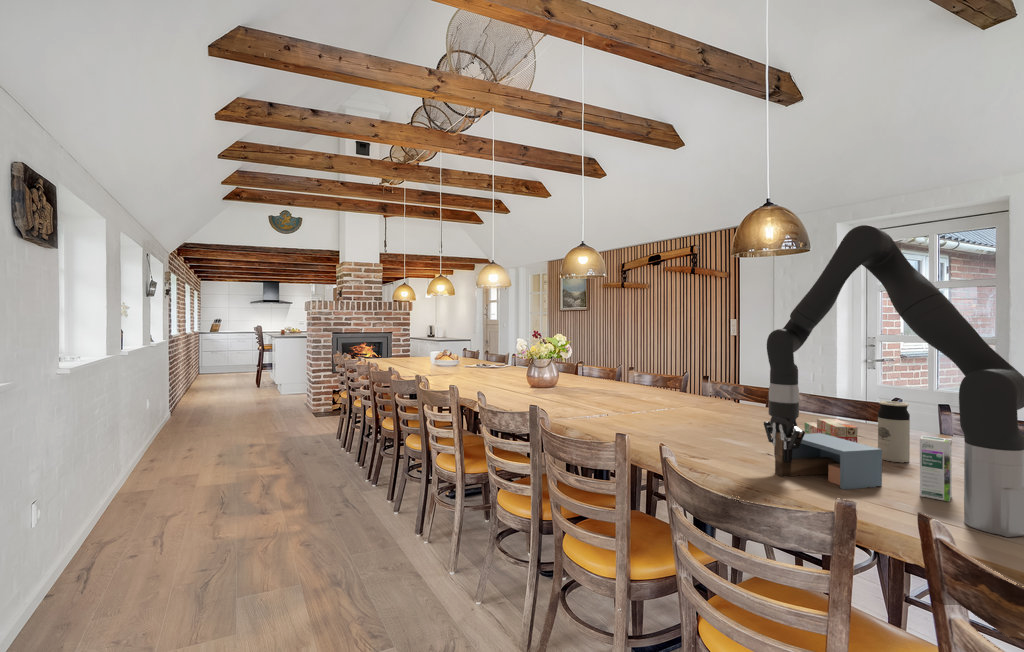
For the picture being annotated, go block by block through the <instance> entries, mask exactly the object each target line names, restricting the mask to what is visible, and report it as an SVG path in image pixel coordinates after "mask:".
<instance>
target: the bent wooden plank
mask: <svg viewBox="0 0 1024 652" xmlns="http://www.w3.org/2000/svg"><path fill="white" fill-rule="evenodd" d="M786 438H790V437H786ZM787 443H788V445H789V441H787ZM783 449H784V448H783V441H782V440H781V433H779V432H776V438H775V455H774V475H776V474H777V475H776V476H779V477H781V476H782V477H784V476H786V477H797V476H798V475H800V476H810V475H811V476H812V474H813V475H823V474H824V475H825V474H828V465H832V464H840V463H838V462H835V461H833V459H832V458H829V457H813V458H798V459H792V461H791V463H785V462H783ZM784 478H785V477H784Z"/></svg>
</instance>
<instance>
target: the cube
mask: <svg viewBox="0 0 1024 652" xmlns="http://www.w3.org/2000/svg"><path fill="white" fill-rule="evenodd" d="M827 474H828V476H827V478H828V479H827V480H828V482H830V483H833V484H835V483H836V485H838V486H840V464H832V465H828V473H827Z"/></svg>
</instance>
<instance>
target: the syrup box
mask: <svg viewBox="0 0 1024 652" xmlns="http://www.w3.org/2000/svg"><path fill="white" fill-rule="evenodd" d="M952 443H953V442H952V438H943V437H935V436H928V435H922V436H921V437H920V438H919V496H920V497H922V498H928V499H933V500H939V501H943V502H948V503H949V502H950V500H951V498H952V495H953V494H952V493H953V492H952V488H953V487H952V485H953V484H952V481H953V480H952V478H953V477H952V476H953V475H952V472H953V471H952V469H953V468H952V466H953V463H952V461H953V459H952V455H953V454H952V452H953V451H952V450H953V449H952Z"/></svg>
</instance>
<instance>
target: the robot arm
mask: <svg viewBox="0 0 1024 652" xmlns="http://www.w3.org/2000/svg"><path fill="white" fill-rule="evenodd" d="M860 266H862V267H864V268H865V269H867V270H868V272H870V274H872V275H873V276H874V277H875V278H876V279H877V280H878V282H879V283H881V285H882V286H883V289H885V290H886V294H887V295H888V297H889V300H890V302H891V304H892V306H893V308H894V310H895V311H896V312H897V314H898V315H899V316H900V318H901V319H902V320H903V321H904V322H905V324H906V325H907V326H908V327H909V328H910V329H911V331H913V332H914V334H916V335H917V336H918V337H919V338H920V339H922V340H923V341H924V342H925V343H927V344H928V345H929V346H931V347H933V348H934V349H935V350H937V351H938V352H940V353H941V354H943V355H945V357H947V358H948V359H949V360H950V361H951V362H952V363H953V364H954V365H955V366H956V367H957V368H958V369H959V370H960V371H961V373H962V374H963V376H964V377H963V378H962V380H961V382H960V383H959V384H960V385H959V391H958V408H959V425H960V428H961V430H962V433H963V436H964V441H963V442H964V457H963V458H964V459H963V461H964V463H963V469H964V471H963V473H964V474H963V476H964V478H963V479H964V480H963V482H964V483H963V485H964V486H963V488H964V489H963V491H964V492H963V504H964V505H963V522H964V523H965V524H966V525H967V526H969V527H971V528H974V529H975V530H978V531H981V532H982V531H983V532H985V533H990V534H994V535H998V536H1004V537H1005V538H1013V537H1022V536H1023V537H1024V434H1023V433H1022V432H1021V431H1020V428H1019V423H1018V422H1019V419H1018V410H1023V408H1024V375H1023V374H1022V373H1021V372H1019V371H1018V370H1017V369H1016V368H1015V366H1013V365H1011V364H1010V363H1009V362H1008V361H1006V360H1005V358H1003V357H1002V356H1001V355H1000V354H999V353H998V352H996V351H995V350H994V349H993V348H992V347H991V346H990V345H989V344H988V343H987V342H986V341H985V340H984V339H983V338H982V337H981V335H980V334H979V333H978V332H977V330H976V329H975V328H974V326H972V325H971V323H970V322H969V321H968V320H967V319H966V318H965V317H964V315H962V314H961V312H960V311H959V310H958V309H957V308H956V307H955V305H954V304H953V303H952V302H951V301H950V300H949V299H948V298H947V297H946V295H944V294H943V292H942V291H941V290H939V288H937V286H935V285H934V284H933V282H932V281H930V280H929V279H928V278H927V277H925V275H923V274H922V273H921V272H919V271H918V270H917V269H916V268H915V267H914V266H913V265H912V264H911V263H910V261H908V259H907V258H906V255H904V254H903V252H902V251H901V250H900V248H899V247H898V245H897V243H896V242H895V241H894V239H893V238H892V237H891V236H890V234H888V233H887V232H885V231H884V230H881V229H880V228H879V227H876V226H873V225H871V224H861V225H858V226H855V227H854V228H851V229H850V230H849V231H848V232H847V233H846V234H845V236H844V237H843V238H842V239H841V242H840V243H839V244H838V246H837V248H836V250H835V251H834V253H833V255H832V257H831V259H830V260H829V261H828V263H827V265H826V266H825V267H824V269H823V271H822V272H821V274H820V275H819V277H818V279H816V281H815V282H814V284H813V285H812V287H811V288H810V289H809V291H808V292H807V293H806V294H805V295H804V296H803V297H802V299H801V300H800V301H799V302H798V304H796V306H794V308H793V309H792V310H791V313H790V314H789V317H790V318H789V320H788V322H786V323H785V325H784V326H783V327H782V328H777V329H775V330H772V331H771V332H770V333H769V335H768V337H767V340H766V355H767V357H768V358H767V359H768V364H769V368H770V369H769V387H768V415H769V416H770V420H769V421H764V422H763V427H764V430H765V433H766V436H767V440H768V442H769V443H772V445H773V447H774V449H773V450H774V456H775V438H776V432H779V433H781V440H782V441H783V448H784V449H783V462H785V463H791V461H792V450H793V449H796V448H799V446H800V444H801V441H802V439H803V437H804V434H805V429H800V428H799V427H798V423H797V418H799V417H800V390H799V369H798V368H799V367H798V366H797V364H796V363H795V356H794V353H796V352H797V351H798V350H799V349H800V348H801V347H802V346H803V345H804V344H805V342H806V341H807V339H808V338H809V336H810V335H811V334H812V331H813V330H814V328H815V327H817V325H818V324H820V322H822V320H823V319H824V318H825V317H826V315H827V314H828V313H829V312H830V310H831V309H832V308H833V306H834V305H835V303H836V301H837V299H838V297H839V294H840V292H841V291H842V289H843V287H844V285H845V283H846V282H847V280H848V279H849V278H850V276H851V275H852V274H853V273H854V272H855V271H856V270H857V269H858V268H860ZM786 437H790V438H786ZM787 441H789V445H788V443H787Z"/></svg>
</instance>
